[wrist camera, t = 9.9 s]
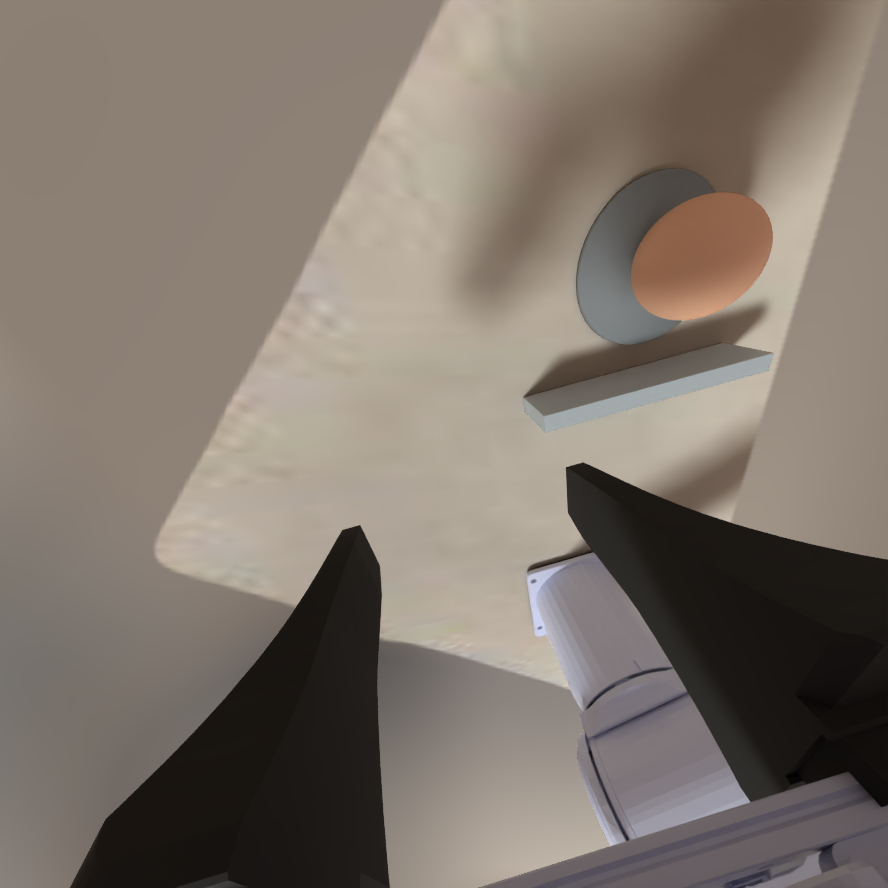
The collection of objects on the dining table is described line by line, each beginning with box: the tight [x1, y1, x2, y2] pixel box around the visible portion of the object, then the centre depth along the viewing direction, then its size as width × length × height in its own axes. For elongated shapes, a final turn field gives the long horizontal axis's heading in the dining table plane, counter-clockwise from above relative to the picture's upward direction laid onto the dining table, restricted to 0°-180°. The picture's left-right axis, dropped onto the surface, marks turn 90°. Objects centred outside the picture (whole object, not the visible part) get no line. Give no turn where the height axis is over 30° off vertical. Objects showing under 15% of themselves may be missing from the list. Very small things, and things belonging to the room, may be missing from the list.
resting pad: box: [576, 168, 716, 344], centre depth 17 cm, size 8×8×1 cm
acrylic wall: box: [523, 343, 774, 433], centre depth 19 cm, size 1×13×3 cm, turn 103°
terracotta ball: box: [631, 192, 773, 320], centre depth 15 cm, size 5×5×5 cm
